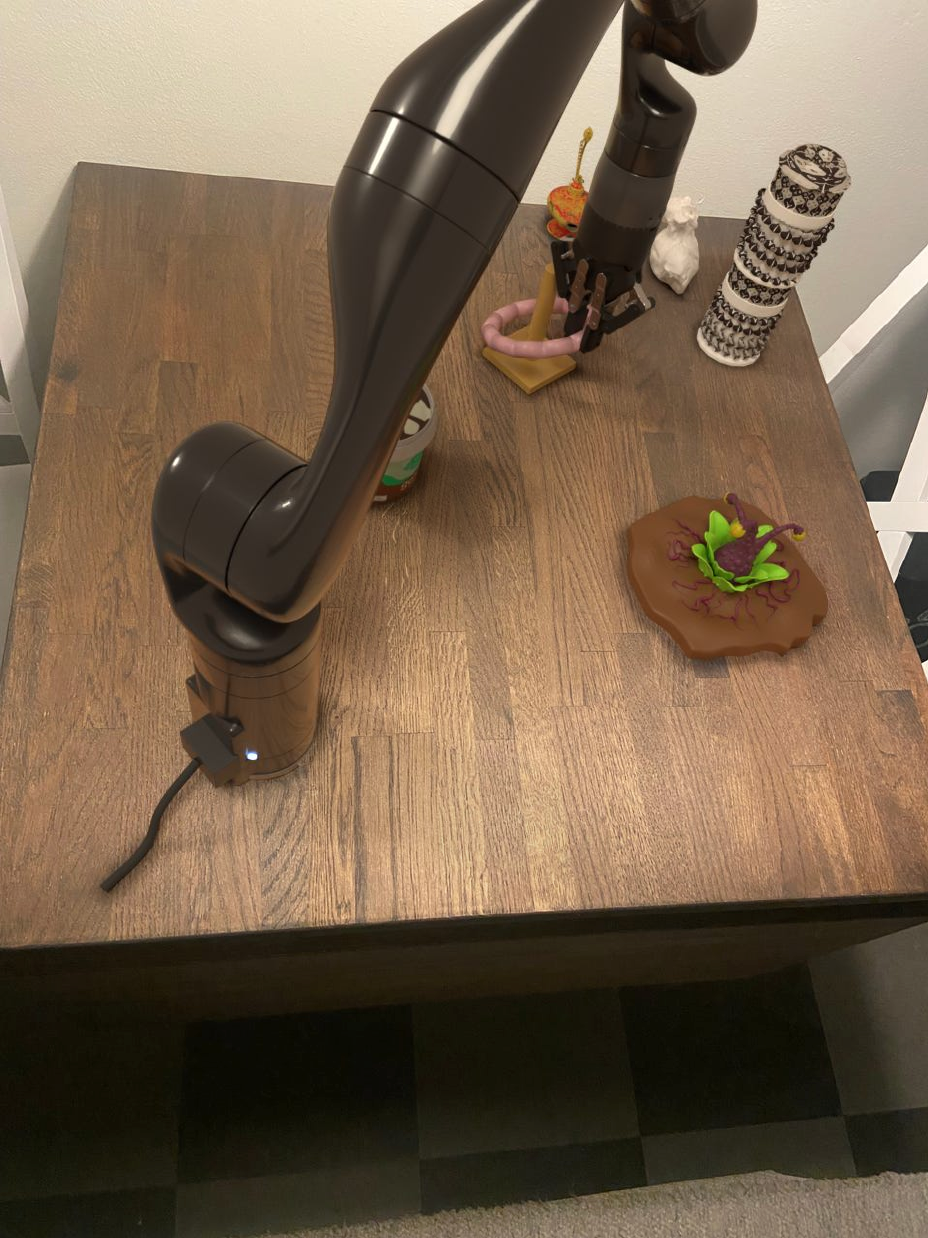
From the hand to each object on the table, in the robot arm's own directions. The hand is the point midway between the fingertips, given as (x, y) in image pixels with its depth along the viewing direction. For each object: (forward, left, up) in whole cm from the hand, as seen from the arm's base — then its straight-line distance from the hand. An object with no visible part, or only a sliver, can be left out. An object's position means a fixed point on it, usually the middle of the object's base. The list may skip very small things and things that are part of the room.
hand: (579, 343), depth 102 cm
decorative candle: (+25, -6, -7) cm, 27 cm away
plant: (-7, -29, -7) cm, 31 cm away
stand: (0, +6, -7) cm, 9 cm away
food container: (-25, +1, -7) cm, 26 cm away
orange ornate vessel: (+22, +21, -7) cm, 31 cm away
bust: (+29, +8, -7) cm, 31 cm away
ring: (0, +5, -2) cm, 6 cm away
